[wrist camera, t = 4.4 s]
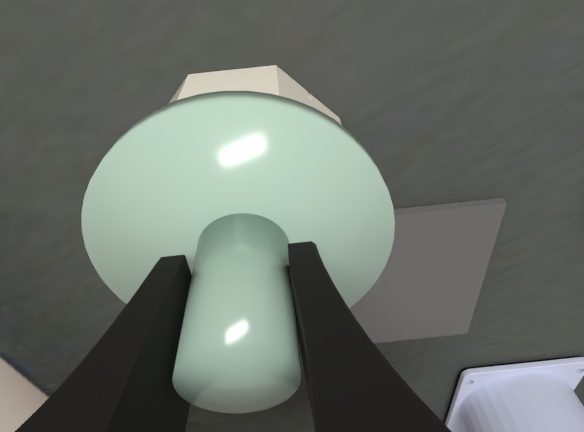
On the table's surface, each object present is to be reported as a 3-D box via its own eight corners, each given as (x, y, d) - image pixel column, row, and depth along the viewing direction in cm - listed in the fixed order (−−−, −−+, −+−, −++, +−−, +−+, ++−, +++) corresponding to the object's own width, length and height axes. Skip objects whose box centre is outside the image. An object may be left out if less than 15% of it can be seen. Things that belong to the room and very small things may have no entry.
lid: (391, 300, 14) (439, 441, 10) (160, 339, 15) (126, 486, 11) (381, 56, 9) (470, 160, 5) (26, 129, 10) (-129, 272, 6)
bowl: (339, 224, 17) (355, 283, 15) (180, 240, 17) (165, 303, 15) (338, 58, 13) (358, 98, 10) (126, 80, 13) (90, 126, 10)
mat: (464, 327, 23) (467, 333, 22) (323, 342, 23) (324, 348, 22) (502, 197, 17) (507, 203, 17) (316, 217, 17) (317, 223, 17)
